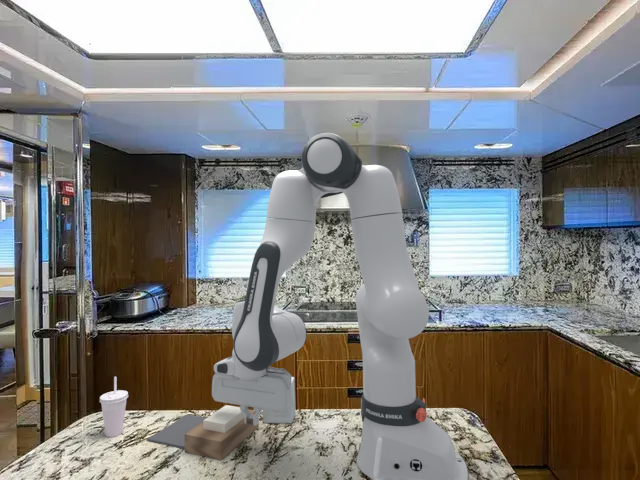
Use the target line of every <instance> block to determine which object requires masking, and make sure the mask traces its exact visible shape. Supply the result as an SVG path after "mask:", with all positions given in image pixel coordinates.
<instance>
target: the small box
mask: <svg viewBox="0 0 640 480" xmlns="http://www.w3.org/2000/svg"><path fill="white" fill-rule="evenodd" d="M295 380H296V379H295V376H291V389H292V399H293V403H292V405H291V406H290V408H289V409H288V410H286V411H285V412H279V411H273V410H267V409H263V410H262V423H264V424H293V422H294V418H295V416H296V389H295V388H296V383H295Z"/></svg>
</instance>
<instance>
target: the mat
mask: <svg viewBox="0 0 640 480" xmlns="http://www.w3.org/2000/svg"><path fill="white" fill-rule="evenodd" d="M206 418H207V417H204V416H199V415H193V414H185V415H184V416H182V417H180V418H179V419H178V420H176V421H174V422H173V423H171V424H169V425H168V426H166V427H164V428H162V429H161V430H160V431H157V432H156V433H154V434H153V435H152V436H150V437H148V438H147V442H152V443H157V444H160V445H166V446H170V447H174V448H178V449H183V450H185V434H186V433H187V432H189V431H190V430H192V429H193V428H194V427H196V426H197V425H199V424H200V423H202V422H203V420H205V419H206Z"/></svg>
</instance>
